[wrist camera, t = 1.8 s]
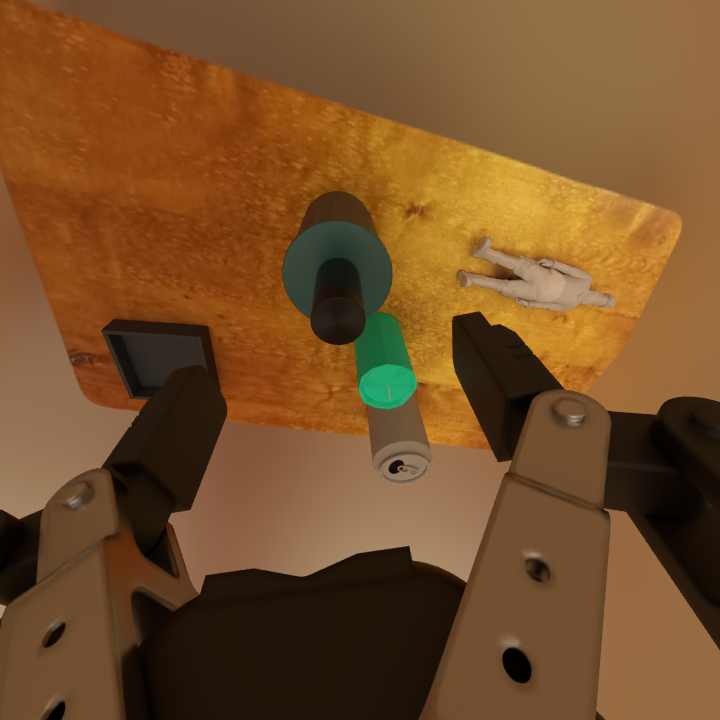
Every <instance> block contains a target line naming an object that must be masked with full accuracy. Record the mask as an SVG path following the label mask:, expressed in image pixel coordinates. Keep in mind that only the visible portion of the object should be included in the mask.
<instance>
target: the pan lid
mask: <svg viewBox="0 0 720 720" xmlns="http://www.w3.org/2000/svg"><path fill="white" fill-rule="evenodd" d="M282 274H283V282H284V286H285V289H286V292H287V294H288V296H289V298H290V300H291V301H292V303H293V304H294V305H295V306H296V308H297V309H298V310H299V311H300V312H302V313H303V314H304V315H305V316H307V317H308V318H310V321H311V327H312V329H313V331H314V333H315V334H316V335H317V337H318V338H320V339H321V340H322V341H324V342H326V343H329V344H333V345H344V344H348V343H350V342H353V341H354V340H356V339H357V338H358V337H359V336H360V335H361V334H362V332H363V331H364V328H365V325H366V319H367V318H368V317H370V316H371V315H372V314H374V313H375V312H376V311H377V310H378V309H379V308H380V307H381V306H382V304H383V303H384V301H385V300H386V298H387V296H388V294H389V291H390V288H391V284H392V265H391V261H390V257H389V254H388V252H387V250H386V248H385V246H384V245H383V243H382V242H381V240H380V239H379V238H378V237H377V236H376V235H375V234H374V233H373V232H372V231H371V230H369V229H368V228H366V227H365V226H363V225H361V224H359V223H356V222H353V221H349V220H344V219H329V220H324V221H320V222H317V223H315V224H312V225H310V226H309V227H307V228H305V229H304V230H303V231H302V232H300V233H299V234H298V235H297V236H296V237H295V239H294V240H293V241H292V243H291V244H290V246H289V248H288V250H287V252H286V255H285V258H284V263H283V273H282Z"/></svg>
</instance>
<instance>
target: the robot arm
mask: <svg viewBox="0 0 720 720" xmlns="http://www.w3.org/2000/svg"><path fill="white" fill-rule="evenodd" d="M452 343H453V364H454V369H455V372H456V375H457V377H458V379H459V381H460V384H461V386H462V388H463V390H464V392H465V394H466V396H467V398H468V400H469V402H470V405H471V407H472V409H473V411H474V413H475V415H476V417H477V419H478V421H479V423H480V426H481V428H482V430H483V432H484V434H485V436H486V438H487V440H488V442H489V444H490V446H491V449H492V451H493V453H494V455H495V457H496V459H497V461H498V462H503V461H509V460H512V463H511V465H510V468H509V471H508V473H505V475H504V477H503V480H502V482H501V485H500V488H499V491H498V494H497V497H496V500H495V502H494V506H493V508H492V511H491V514H490V517H489V520H488V523H487V526H486V529H485V532H484V535H483V538H482V541H481V544H480V547H479V549H478V552H477V556H476V558H475V561H474V564H473V567H472V570H471V573H470V576H469V579H468V582H467V583H466V582H465V581H463V580H462V579H460V578H458V577H457V576H455V575H454V574H452V573H450V572H448V571H445V570H444V569H442V568H439V567H437V566H434V565H430V564H427V563H424V562H418V561H413V560H412V557H411V552H410V548H409V546H407V547H399V548H392V549H386V550H378V551H371V552H365V553H358V554H355V555H353V556H351V557H348V558H346V559H344V560H342V561H340V562H337V563H335V564H333V565H331V566H328V567H326V568H324V569H322V570H319V571H318V572H315V573H313V574H311V575H308V576H304V577H298V576H293V575H287V574H282V573H276V572H271V571H266V570H260V569H246V570H239V571H233V572H226V573H219V574H212V575H206V576H205V579H204V583H203V586H202V590H201V593H200V595H199V594H198V592H197V591H196V590H195V588H194V587H193V585H192V583H191V581H190V578H189V575H188V572H187V569H186V566H185V563H184V560H183V556H182V553H181V550H180V547H179V544H178V541H177V538H176V534H175V531H174V528H173V526H172V525H171V524H170V523H169V522H168V519H169V517H170V515H171V513H175V512H181V511H187V510H190V509H191V507H192V504H193V502H194V499H195V497H196V494H197V491H198V489H199V486H200V484H201V481H202V478H203V476H204V473H205V471H206V468H207V465H208V463H209V460H210V457H211V455H212V452H213V450H214V447H215V445H216V442H217V440H218V437H219V434H220V432H221V429H222V426H223V424H224V421H225V419H226V416H227V405H226V401H225V399H224V397H223V395H222V394H221V392H220V390H219V389H218V387H217V386H216V384H215V383H214V381H213V379H212V378H211V376H210V375H209V373H208V371H207V370H206V369H205V367H203V366H202V365H194V366H189V367H184V368H178V369H175V370H173V372H172V373H171V374H170V376H169V377H168V379H167V380H166V382H165V383H164V385H163V386H162V388H161V389H160V390H159V391H157V392H156V393H155V394H154V395H153V396H152V397H151V398H150V399H148V401H147V402H146V404H145V405H144V407H143V408H142V409H141V411H140V412H139V415H138V416H137V417H136V418H135V419H134V421H133V422H132V427H129V428H128V430H127V431H126V432H125V434H124V435H123V437H122V438H121V440H120V441H119V443H118V444H117V445H116V447H115V448H114V450H113V451H112V453H111V454H110V456H109V457H108V458H107V460H106V461H105V463H104V464H103V466H102V467H101V468H97V469H92V470H89V471H86V472H84V473H82V474H80V475H78V476H77V477H75V478H74V479H72V480H70V481H69V482H68V483H66V484H65V485H64V486H62V487H61V488H60V489H59V490H58V491H57V492H56V493H55V494H54V495H53V496H52V498H51V499H50V500H49V501H48V503H47V504H46V506H45V507H44V509H42V510H40V511H38V512H35V513H33V514H30V515H28V516H26V517H23V518H21V519H17V518H16V517H14V516H12V515H10V514H9V513H7V512H5V511H3V510H0V604H1V605H5V606H7V607H6V608H5V611H4V613H3V616H2V618H1V619H0V720H605V719H604V718H603V717H602V716H601V715H600V714H599V713H598V712H597V711H596V706H597V693H598V680H599V667H600V654H601V641H602V629H603V617H604V604H605V591H606V578H607V565H608V553H609V540H610V515H609V513H608V512H607V511H605V510H604V509H603V508H606V509H612V510H618V511H625V512H627V514H628V515H629V517H630V518H631V519H632V521H633V523H634V524H635V526H636V527H637V528H638V530H639V531H640V533H641V534H642V536H643V537H644V539H645V540H646V542H647V543H648V545H649V546H650V548H651V549H652V551H653V552H654V554H655V555H656V557H657V558H658V560H659V561H660V562H661V564H662V565H663V567H664V568H665V570H666V571H667V573H668V574H669V575H670V577H671V579H672V580H673V581H674V583H675V585H676V586H677V588H678V589H679V590H680V592H681V593H682V595H683V596H684V598H685V599H686V601H687V602H688V604H689V605H690V607H691V608H692V610H693V611H694V613H695V614H696V616H697V617H698V618H699V620H700V621H701V623H702V624H703V626H704V627H705V629H706V630H707V632H708V633H709V635H710V636H711V638H712V639H713V641H714V642H715V643H716V645H717V647H718V648H719V649H720V402H718V401H714V400H710V399H706V398H699V397H677V398H672V399H670V400H668V401H666V402H664V404H663V405H662V406H661V407H660V409H659V411H658V413H657V414H656V415H652V414H639V413H625V412H613V411H607V410H606V409H605V408H604V407H603V406H602V405H601V404H599V403H598V402H597V401H596V400H594V399H593V398H591V397H589V396H587V395H584V394H582V393H578V392H575V391H570V390H565V389H564V388H563V387H562V386H561V384H560V383H559V382H558V381H557V380H556V379H555V377H554V376H553V375H552V374H551V373H550V372H549V371H548V369H547V368H546V367H545V366H544V365H543V364H542V362H541V361H540V360H539V359H538V358H537V357H536V355H533V352H532V351H531V350H530V349H529V347H528V346H527V345H525V343H524V342H523V340H522V339H521V338H520V337H519V336H518V335H517V333H516V332H514V331H512V330H510V329H508V328H507V327H505V326H503V325H501V324H498V325H493V326H491V325H490V324H489V322H488V321H487V320H486V319H485V317H484V316H483V315H482V313H481V312H479V311H478V312H473V313H468V314H463V315H457V316H454V317H453V320H452Z"/></svg>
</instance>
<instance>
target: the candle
mask: <svg viewBox="0 0 720 720" xmlns="http://www.w3.org/2000/svg"><path fill="white" fill-rule="evenodd" d="M354 341H355V354H356V366H357V378H358V390H359V393H360V395H361V397H362V400H363V402H364V403H366V404H368V405H370V406H372V407H374V408H382V409H391V408H394V407H398V406H401V405H403V404H404V403H405V402H406V401H407V400H408V399H409V397H410V396H411V395H412V394H413V393H414V391H415V389H416V387H417V385H418V384H417V381H416V378H415V375H414V372H413V368H412V365H411V362H410V359H409V356H408V352H407V349H406V346H405V343H404V340H403V336H402V333H401V330H400V327H399V324H398V321H397V320H396V319H394V318H393V317H392V316H391V315H389V314H385V313H378V312H376V313H374V314H372V315H371V316H370V317H368V318H367V319H366V325H365V328H364V331H363V332H362V334H361V335H360V336H359V337H358V338H357V339H356V340H354Z"/></svg>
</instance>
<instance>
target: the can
mask: <svg viewBox="0 0 720 720" xmlns="http://www.w3.org/2000/svg"><path fill="white" fill-rule="evenodd" d="M367 413H368V422H369V432H370V441H371V450H372V459H373V465H374V467H375V469H376V470H377V471H378V472H379V474H380V477H381V478H382V479H383V480H384V481H386V482H388V483H390V484H395V485H407V484H411V483H414V482H417V481H419V480H421V479H422V478H424V477H425V476H426V475H427V474H428V472H429V469H430V465H429V464H430V463H431V460H432V453H431V449H430V446H429V442H428V439H427V435H426V432H425V428H424V425H423V421H422V418H421V415H420V411H419V408H418V404H417V401H416V398H415V396H414V395H413V394H412V395H411V396H410V397H409V399H408V400H407V401H406V402H405V403H404V404H403V405H401V406H398V407H394V408H391V409H382V408H374V407H372V406H370V405H367Z"/></svg>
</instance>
